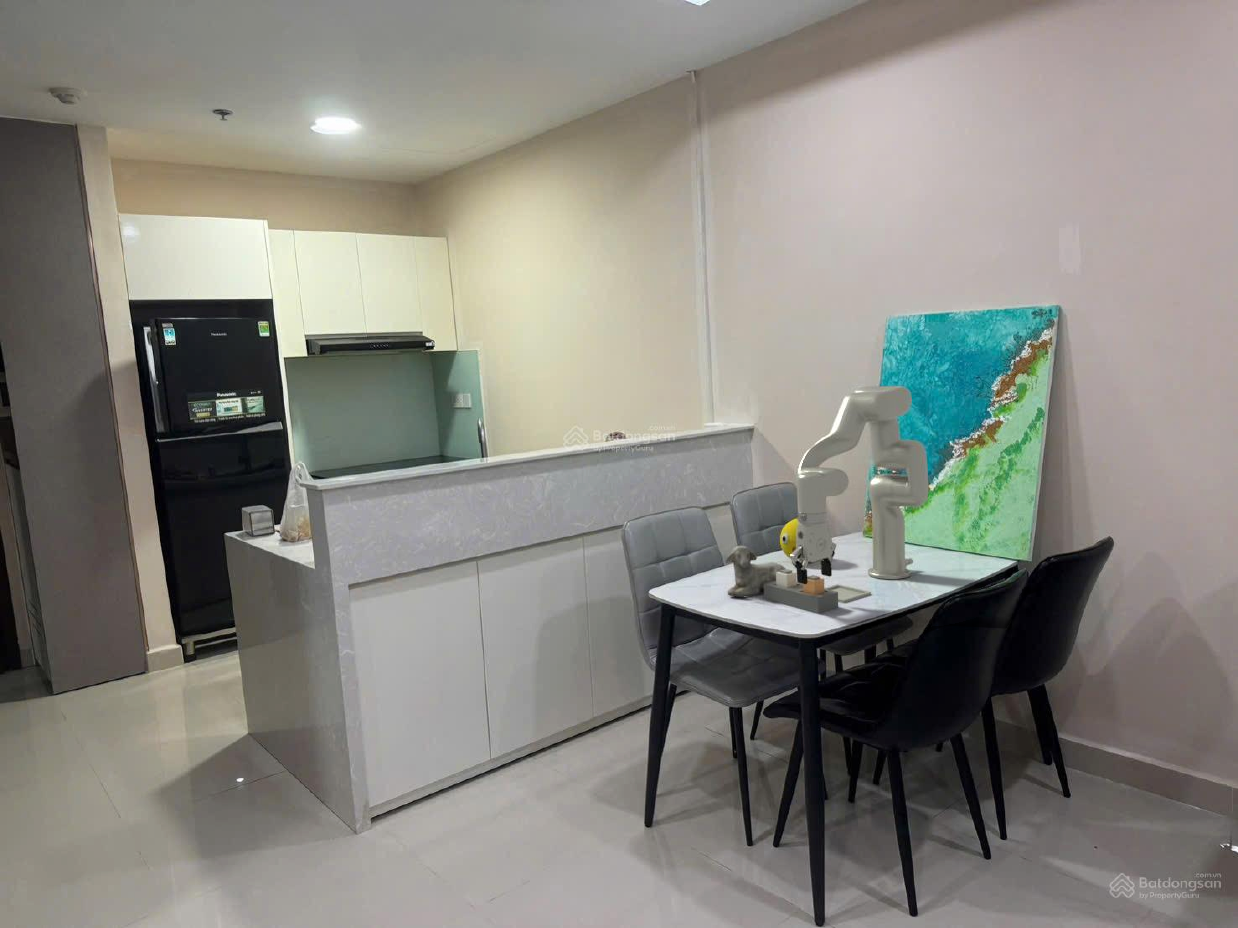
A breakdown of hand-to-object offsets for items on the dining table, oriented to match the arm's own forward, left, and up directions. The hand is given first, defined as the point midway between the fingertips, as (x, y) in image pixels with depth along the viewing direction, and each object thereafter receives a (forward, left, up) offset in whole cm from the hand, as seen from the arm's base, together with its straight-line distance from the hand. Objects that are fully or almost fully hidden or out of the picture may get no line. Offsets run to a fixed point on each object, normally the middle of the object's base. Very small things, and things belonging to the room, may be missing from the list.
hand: (814, 579), depth 224 cm
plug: (0, 0, -7) cm, 7 cm away
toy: (-37, -38, -9) cm, 54 cm away
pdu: (+1, -5, -8) cm, 10 cm away
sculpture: (-1, -22, -9) cm, 24 cm away
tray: (-14, -3, -8) cm, 16 cm away
